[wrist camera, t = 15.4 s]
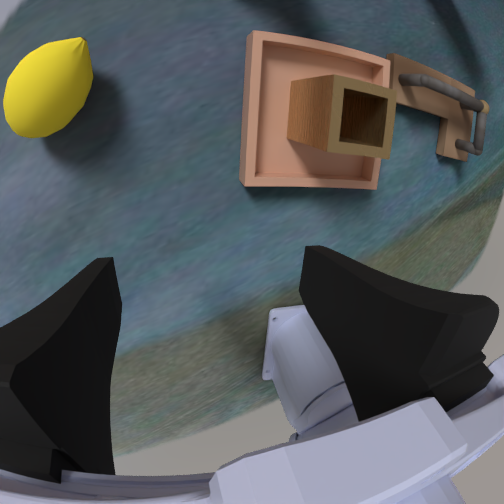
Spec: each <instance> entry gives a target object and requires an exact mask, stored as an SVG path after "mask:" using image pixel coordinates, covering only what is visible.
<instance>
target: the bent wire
mask: <svg viewBox="0 0 504 504" xmlns="http://www.w3.org/2000/svg"><path fill="white" fill-rule="evenodd" d="M387 60H390V79H389V88H390V89H393V90H396V91H397V99H396V103H397V104H400V105H404V106H407V107H410V108H414V109H417V110H420V111H423V112H426V113H429V114H432V115H435V116H438V117H441V118H440V127H439V135H438V142H437V149H436V154H439V155H442V156H446V157H450V158H454V159H458V160H462V161H466V162H467V157H468V152H469V153H472V154H474V155H481V154H482V151H483V144H484V136H485V128H486V118H487V114H488V112H489V105H488V104H487V102H486V101H484V100H478V99H476V98H474V94H475V90H473V89H471V88H469V87H468V86H466V85H464V84H462V83H460V82H458V81H456V80H454V79H452V78H450V77H448V76H446V75H444V74H442V73H440V72H438V71H436V70H434V69H432V68H429V67H427V66H425V65H423V64H420V63H418V62H416V61H413V60H411V59H408V58H406V57H403V56H401V55H398V54H395V53H392V54H387ZM473 111H476V112H477V116H476V126H475V134H474V142H473V143H472V142H470V137H471V128H472V119H473Z"/></svg>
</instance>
